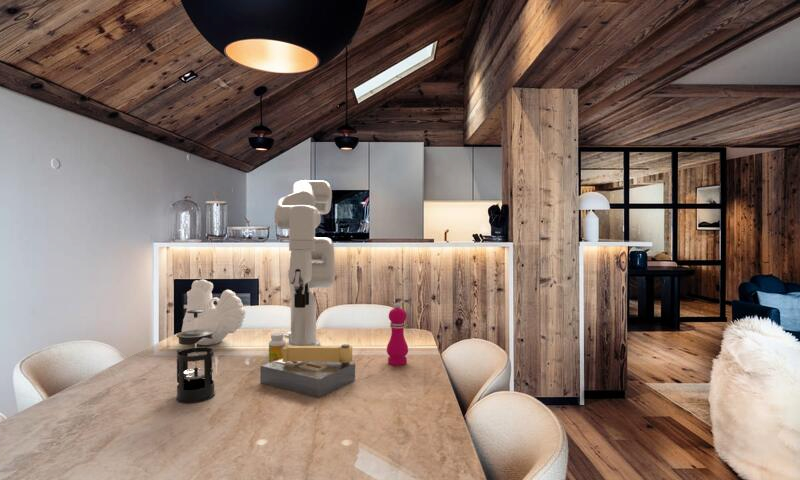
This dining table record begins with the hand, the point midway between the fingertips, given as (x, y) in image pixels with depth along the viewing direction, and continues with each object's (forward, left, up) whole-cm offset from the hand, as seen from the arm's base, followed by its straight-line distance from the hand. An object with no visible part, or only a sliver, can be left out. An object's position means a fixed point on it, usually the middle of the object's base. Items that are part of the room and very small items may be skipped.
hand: (301, 305), depth 132 cm
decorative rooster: (-54, +9, -22) cm, 59 cm away
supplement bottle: (-15, +5, -22) cm, 27 cm away
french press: (-12, -27, -22) cm, 37 cm away
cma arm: (+8, -1, -16) cm, 18 cm away
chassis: (+6, -3, -21) cm, 22 cm away
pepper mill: (+19, +26, -22) cm, 38 cm away
